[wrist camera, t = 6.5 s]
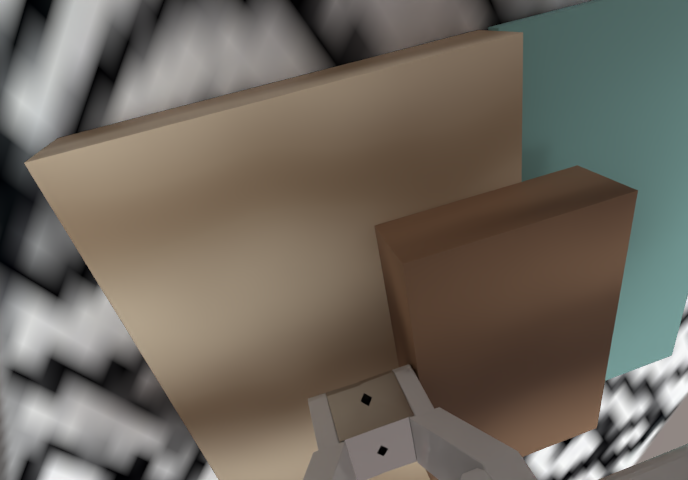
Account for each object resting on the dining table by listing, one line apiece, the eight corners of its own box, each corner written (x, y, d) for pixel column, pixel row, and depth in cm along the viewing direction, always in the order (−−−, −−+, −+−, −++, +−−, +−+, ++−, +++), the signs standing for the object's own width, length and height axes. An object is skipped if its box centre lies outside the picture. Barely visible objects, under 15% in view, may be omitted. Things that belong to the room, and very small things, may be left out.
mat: (488, 27, 11) (498, 27, 11) (757, -43, 12) (776, -45, 12) (498, 409, 19) (504, 418, 19) (662, 348, 20) (671, 355, 20)
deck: (57, 138, 10) (23, 163, 8) (478, 29, 11) (523, 32, 10) (258, 499, 18) (261, 549, 16) (492, 411, 19) (518, 450, 18)
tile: (374, 225, 11) (402, 264, 9) (577, 165, 12) (638, 190, 10) (411, 438, 16) (435, 490, 14) (557, 384, 16) (596, 427, 15)
